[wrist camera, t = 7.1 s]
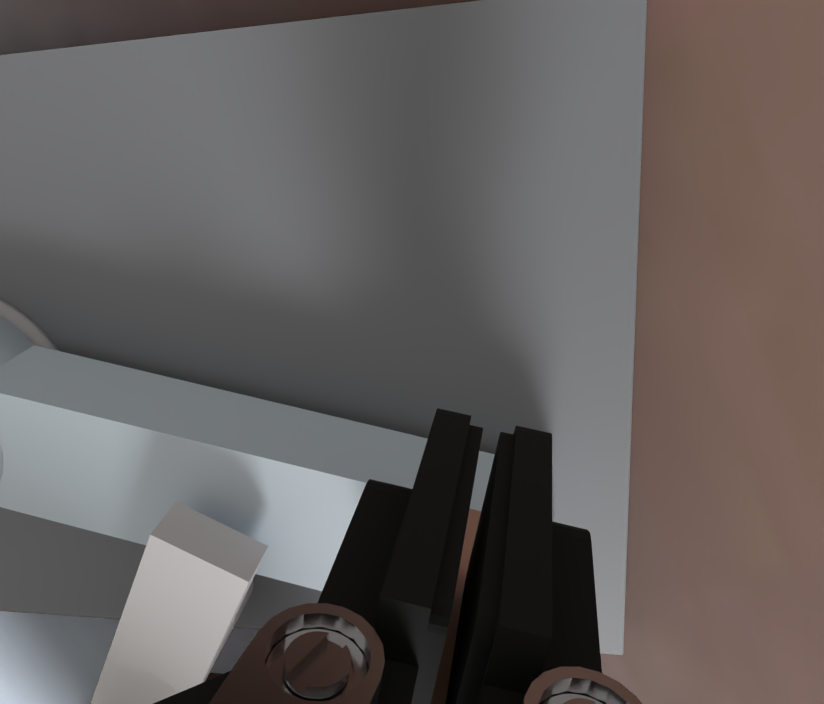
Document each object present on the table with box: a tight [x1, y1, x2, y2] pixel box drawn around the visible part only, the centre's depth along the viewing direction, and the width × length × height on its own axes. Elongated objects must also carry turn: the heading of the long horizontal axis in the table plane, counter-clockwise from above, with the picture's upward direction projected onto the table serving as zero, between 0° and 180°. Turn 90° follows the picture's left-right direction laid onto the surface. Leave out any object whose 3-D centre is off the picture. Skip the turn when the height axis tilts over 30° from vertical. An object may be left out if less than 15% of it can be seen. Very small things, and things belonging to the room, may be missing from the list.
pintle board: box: [0, 0, 647, 704], centre depth 15 cm, size 18×14×5 cm
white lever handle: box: [0, 316, 555, 704], centre depth 13 cm, size 16×4×8 cm, turn 81°
